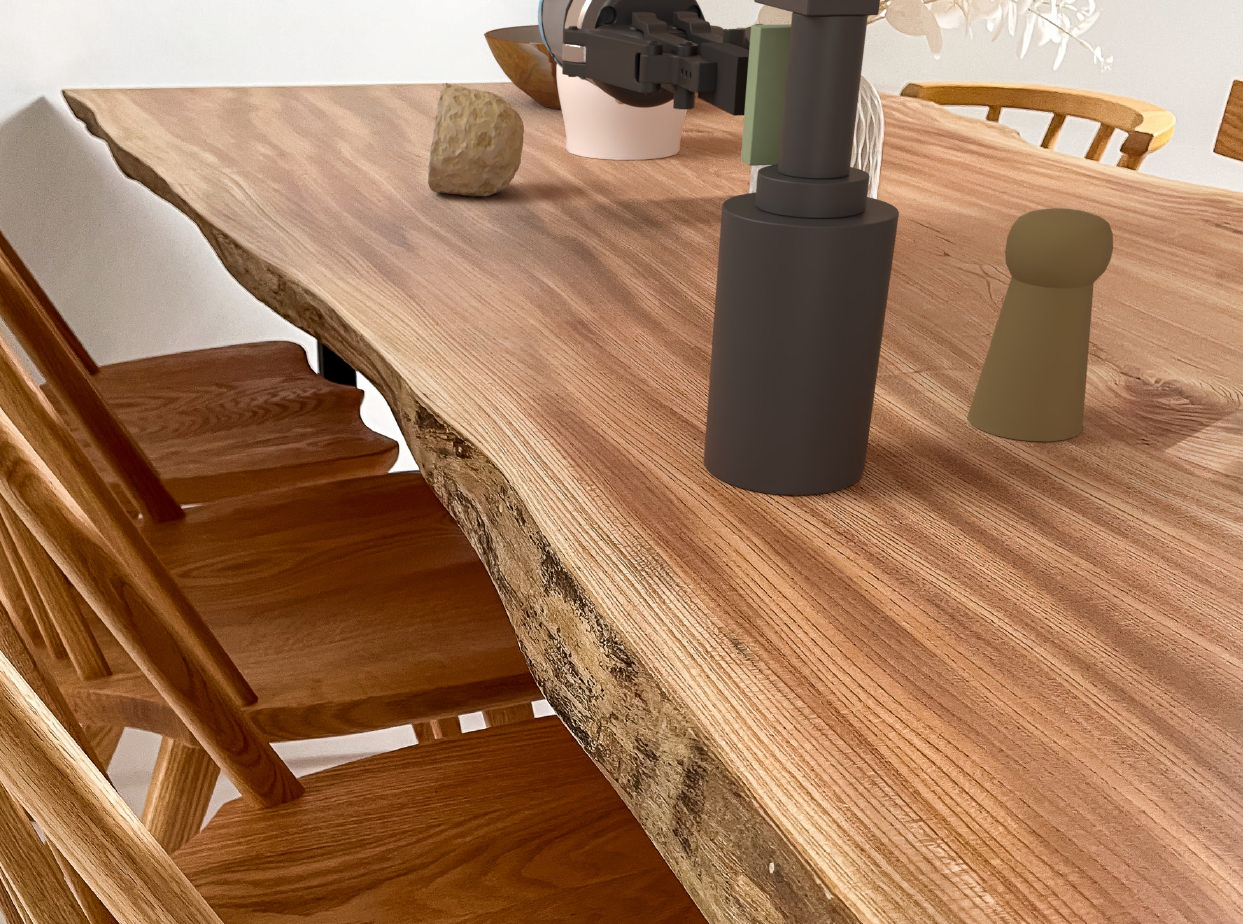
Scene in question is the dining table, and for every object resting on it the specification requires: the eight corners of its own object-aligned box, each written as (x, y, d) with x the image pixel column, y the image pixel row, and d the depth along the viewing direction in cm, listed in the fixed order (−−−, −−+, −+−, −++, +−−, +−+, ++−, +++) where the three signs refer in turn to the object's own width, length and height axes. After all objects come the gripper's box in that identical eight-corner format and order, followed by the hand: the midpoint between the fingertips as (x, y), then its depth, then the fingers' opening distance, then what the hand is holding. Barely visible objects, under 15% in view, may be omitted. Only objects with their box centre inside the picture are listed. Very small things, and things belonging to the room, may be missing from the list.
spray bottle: (671, 426, 76) (703, -99, 63) (812, 417, 77) (871, -99, 64) (731, 500, 67) (781, -93, 54) (889, 489, 68) (975, -93, 55)
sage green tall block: (740, 160, 69) (750, 24, 66) (794, 159, 69) (807, 24, 66) (749, 165, 68) (760, 27, 64) (804, 164, 68) (818, 26, 65)
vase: (537, 142, 152) (538, -69, 142) (658, 135, 156) (668, -70, 146) (582, 165, 141) (587, -63, 130) (712, 157, 145) (727, -64, 134)
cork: (1103, 422, 76) (1150, 212, 71) (1048, 449, 73) (1093, 230, 67) (1002, 396, 80) (1040, 194, 74) (945, 421, 76) (980, 211, 71)
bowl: (451, 111, 171) (449, 39, 167) (530, 86, 191) (530, 20, 186) (646, 124, 163) (650, 49, 158) (708, 96, 182) (713, 28, 178)
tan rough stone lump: (407, 103, 130) (505, 57, 127) (452, 210, 133) (548, 168, 130) (382, 109, 121) (485, 60, 118) (430, 224, 125) (532, 179, 122)
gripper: (728, 98, 93) (863, 161, 73) (535, 102, 91) (620, 169, 71) (737, -30, 89) (882, 0, 69) (536, -28, 87) (626, 4, 67)
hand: (750, 86), depth 70 cm, fingers closed
